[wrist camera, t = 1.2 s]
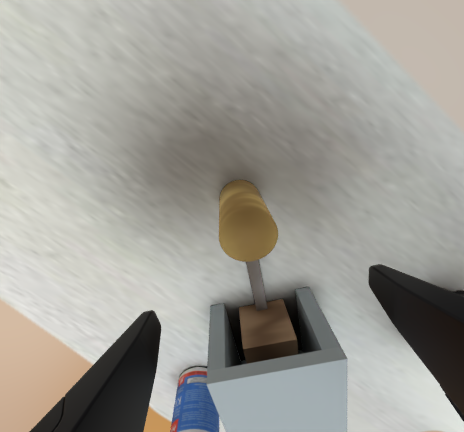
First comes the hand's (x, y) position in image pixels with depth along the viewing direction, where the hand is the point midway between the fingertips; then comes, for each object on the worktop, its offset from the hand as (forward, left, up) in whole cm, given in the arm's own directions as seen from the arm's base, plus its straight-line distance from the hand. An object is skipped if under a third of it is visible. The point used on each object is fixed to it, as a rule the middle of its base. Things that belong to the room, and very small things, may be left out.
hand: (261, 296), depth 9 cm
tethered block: (0, +8, -12) cm, 14 cm away
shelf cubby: (0, +16, -12) cm, 20 cm away
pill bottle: (+10, +23, -12) cm, 28 cm away
